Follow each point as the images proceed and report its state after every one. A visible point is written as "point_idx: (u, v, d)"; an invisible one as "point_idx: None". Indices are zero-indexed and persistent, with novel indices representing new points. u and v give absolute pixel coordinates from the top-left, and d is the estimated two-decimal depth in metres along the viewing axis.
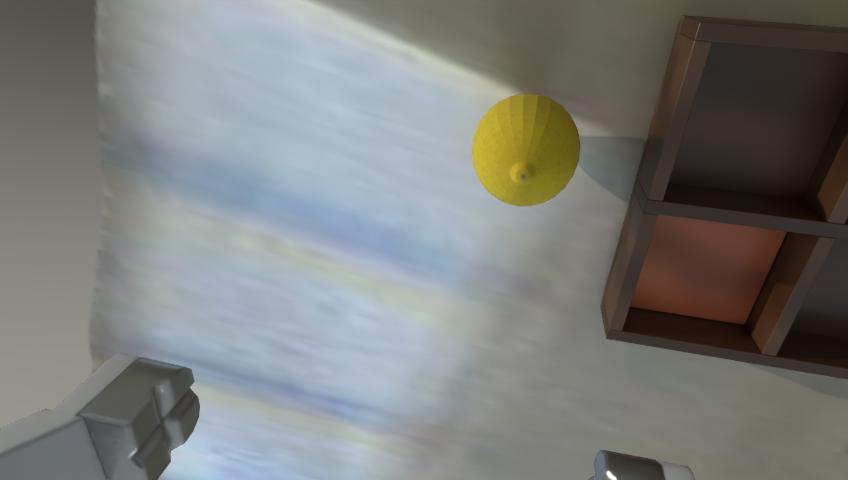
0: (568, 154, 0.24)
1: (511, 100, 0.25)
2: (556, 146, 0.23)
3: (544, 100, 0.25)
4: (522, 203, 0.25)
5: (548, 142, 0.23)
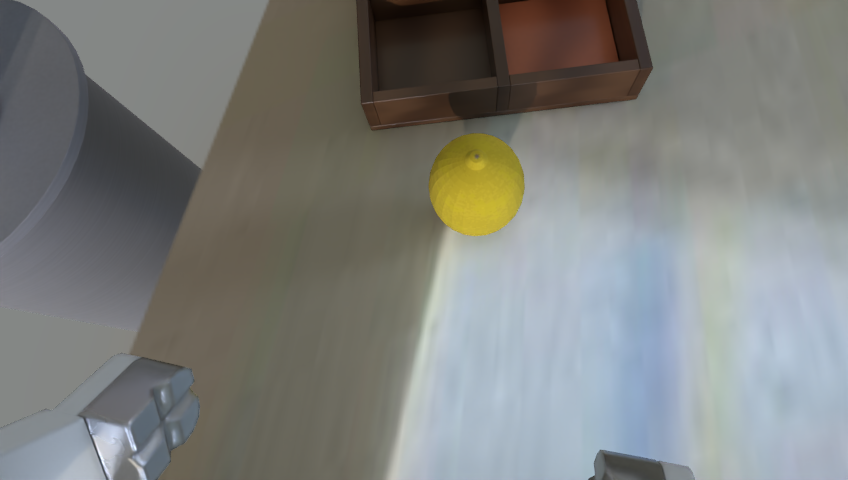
0: (458, 137, 0.28)
1: (434, 205, 0.29)
2: (451, 146, 0.27)
3: None
4: (511, 158, 0.27)
5: (448, 152, 0.27)
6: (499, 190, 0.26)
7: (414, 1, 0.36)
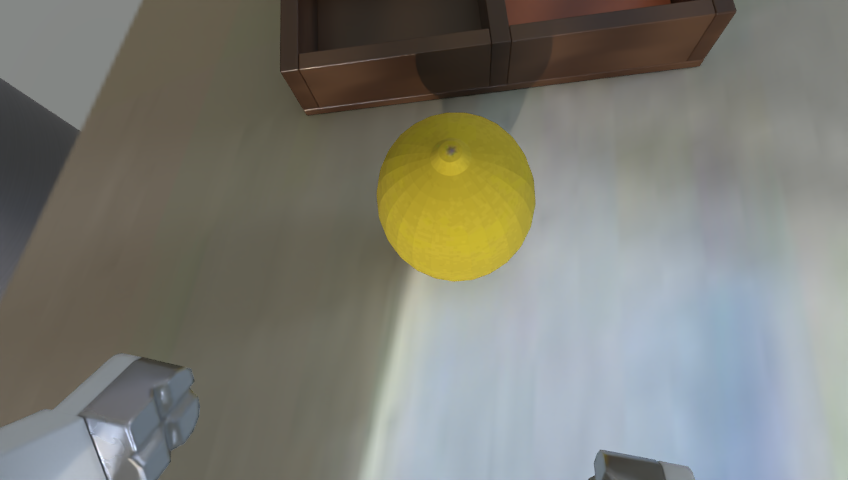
0: (423, 120, 0.16)
1: (385, 233, 0.18)
2: (409, 133, 0.16)
3: None
4: (512, 155, 0.15)
5: (403, 144, 0.16)
6: (492, 211, 0.15)
7: None
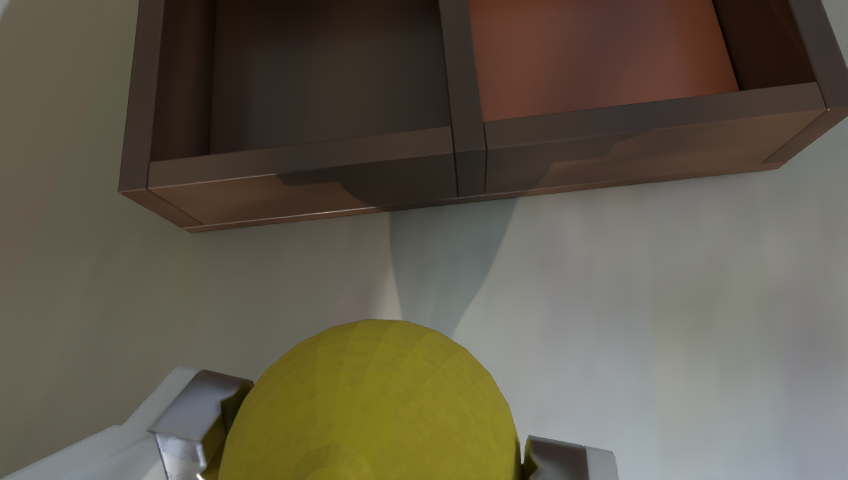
0: (303, 351, 0.08)
1: None
2: (267, 396, 0.08)
3: None
4: (472, 456, 0.07)
5: (252, 424, 0.08)
6: None
7: None
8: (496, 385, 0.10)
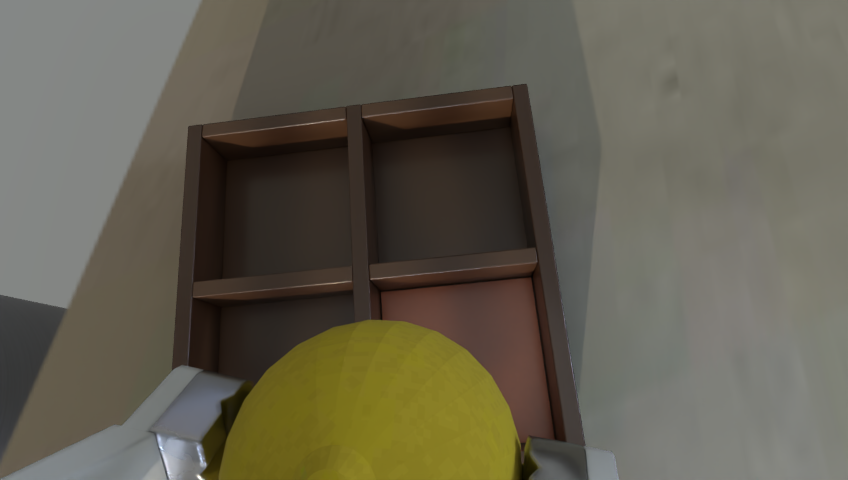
0: (304, 353, 0.08)
1: None
2: (267, 396, 0.08)
3: None
4: (473, 457, 0.07)
5: (252, 425, 0.08)
6: None
7: (266, 296, 0.26)
8: (496, 386, 0.10)
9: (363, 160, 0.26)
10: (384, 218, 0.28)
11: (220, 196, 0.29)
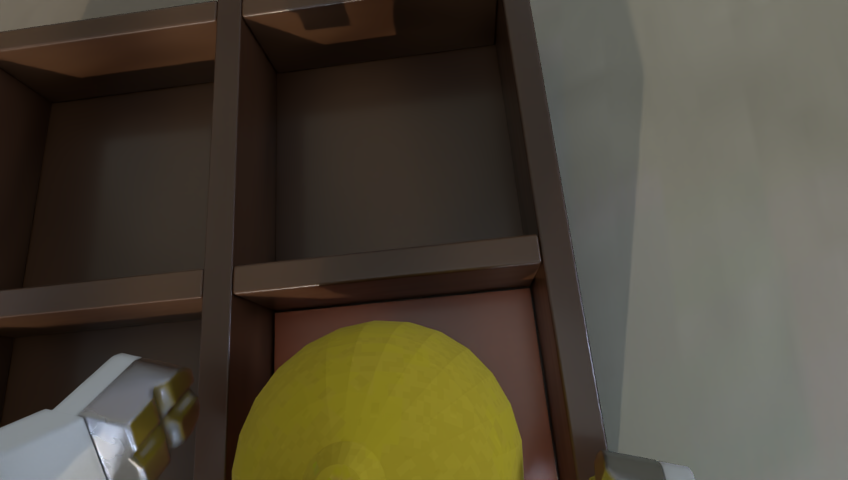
0: (313, 353, 0.09)
1: None
2: (279, 395, 0.08)
3: None
4: (476, 453, 0.08)
5: (265, 422, 0.08)
6: None
7: (70, 322, 0.15)
8: (498, 384, 0.10)
9: (239, 86, 0.15)
10: (289, 190, 0.17)
11: (26, 155, 0.18)
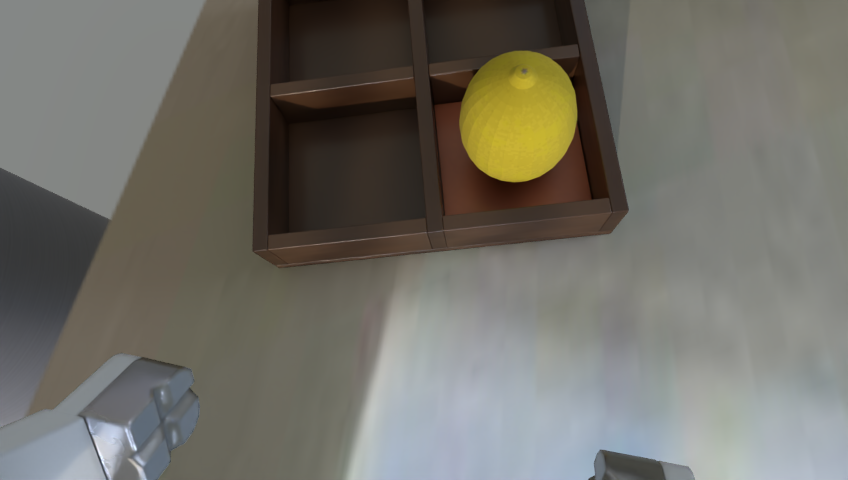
0: (497, 56, 0.23)
1: (466, 143, 0.24)
2: (489, 64, 0.22)
3: None
4: (564, 78, 0.22)
5: (486, 71, 0.22)
6: (551, 115, 0.21)
7: (333, 104, 0.29)
8: None
9: None
10: (435, 46, 0.31)
11: (285, 30, 0.32)
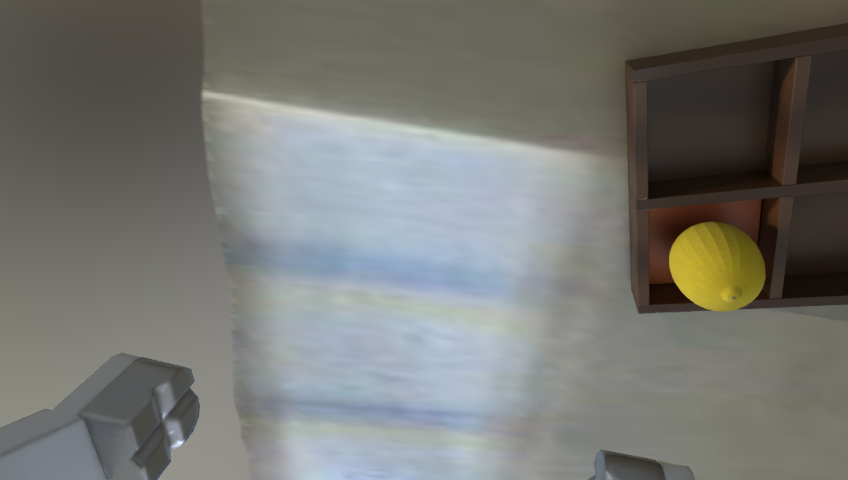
0: (762, 271, 0.32)
1: (700, 236, 0.34)
2: (752, 269, 0.31)
3: (726, 231, 0.33)
4: (729, 310, 0.33)
5: (746, 268, 0.31)
6: (700, 301, 0.33)
7: (780, 105, 0.32)
8: None
9: None
10: None
11: None
